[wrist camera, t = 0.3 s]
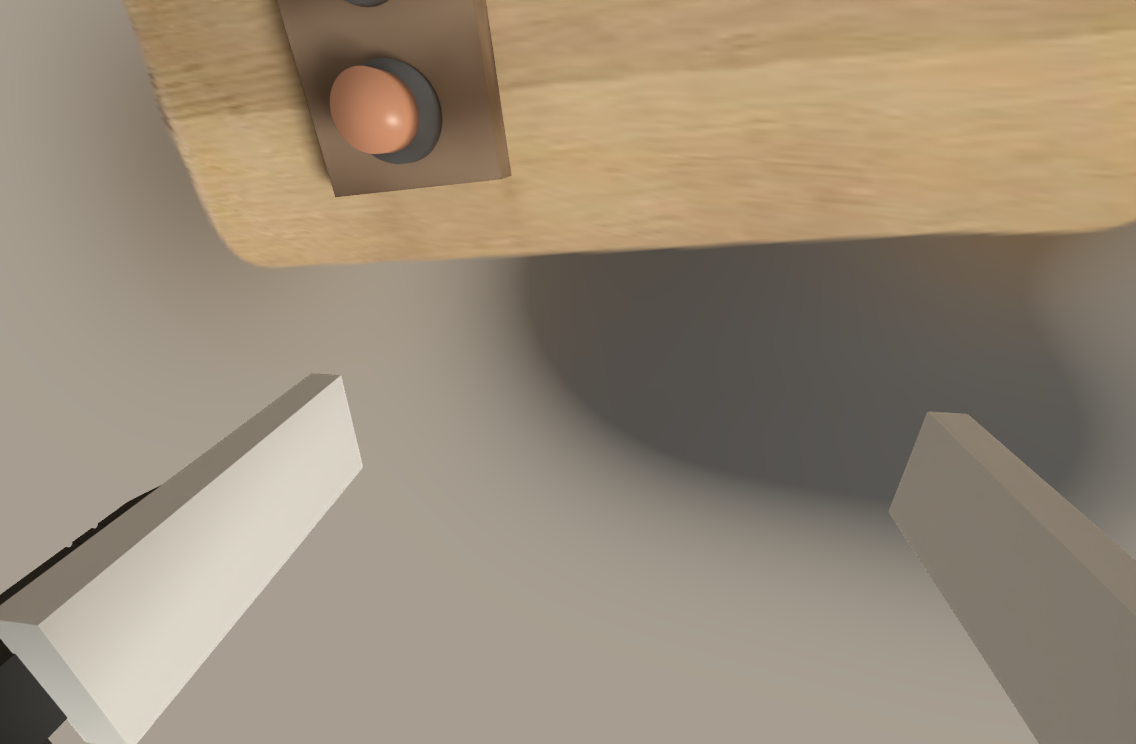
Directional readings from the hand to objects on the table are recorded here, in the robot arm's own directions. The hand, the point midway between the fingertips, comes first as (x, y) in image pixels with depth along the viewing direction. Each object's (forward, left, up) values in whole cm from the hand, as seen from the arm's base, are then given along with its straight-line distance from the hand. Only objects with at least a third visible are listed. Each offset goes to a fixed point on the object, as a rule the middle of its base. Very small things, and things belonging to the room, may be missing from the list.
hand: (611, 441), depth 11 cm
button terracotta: (-9, -14, -22) cm, 28 cm away
